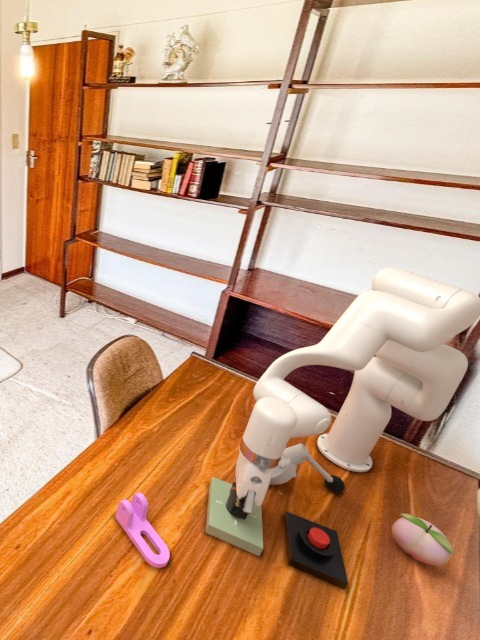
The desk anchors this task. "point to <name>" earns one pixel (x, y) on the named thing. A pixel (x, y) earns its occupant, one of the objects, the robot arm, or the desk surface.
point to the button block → (314, 551)
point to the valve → (297, 456)
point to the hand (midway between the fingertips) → (237, 505)
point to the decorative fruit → (422, 540)
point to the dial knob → (232, 498)
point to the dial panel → (233, 520)
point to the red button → (318, 538)
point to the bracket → (142, 530)
